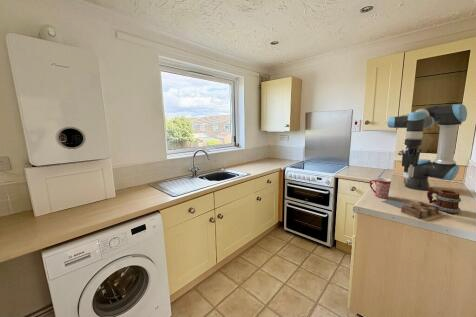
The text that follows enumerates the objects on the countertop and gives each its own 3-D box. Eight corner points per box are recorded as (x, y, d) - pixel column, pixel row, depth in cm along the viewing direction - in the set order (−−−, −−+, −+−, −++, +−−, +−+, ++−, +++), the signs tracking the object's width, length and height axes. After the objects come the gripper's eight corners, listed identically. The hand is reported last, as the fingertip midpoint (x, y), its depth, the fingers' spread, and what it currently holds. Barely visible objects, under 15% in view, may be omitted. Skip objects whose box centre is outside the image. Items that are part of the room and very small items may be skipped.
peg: (405, 182, 122) (408, 163, 120) (411, 183, 120) (414, 164, 117) (402, 182, 122) (405, 164, 119) (407, 184, 119) (410, 164, 117)
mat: (394, 198, 138) (394, 198, 138) (414, 205, 127) (414, 204, 127) (380, 201, 134) (380, 201, 134) (400, 208, 123) (400, 208, 123)
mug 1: (390, 197, 141) (393, 179, 139) (387, 200, 135) (389, 182, 133) (370, 192, 150) (372, 175, 148) (366, 195, 144) (368, 178, 142)
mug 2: (462, 216, 110) (460, 190, 110) (427, 212, 121) (425, 189, 120) (462, 210, 118) (460, 186, 117) (429, 207, 129) (427, 184, 128)
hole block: (419, 207, 124) (420, 201, 123) (438, 213, 115) (439, 207, 114) (400, 212, 118) (401, 206, 117) (418, 219, 109) (419, 212, 109)
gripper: (415, 137, 122) (409, 174, 126) (397, 138, 117) (392, 176, 121) (429, 138, 115) (423, 177, 119) (411, 139, 110) (405, 179, 114)
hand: (407, 176), depth 120 cm, fingers closed on peg, 3 cm apart
